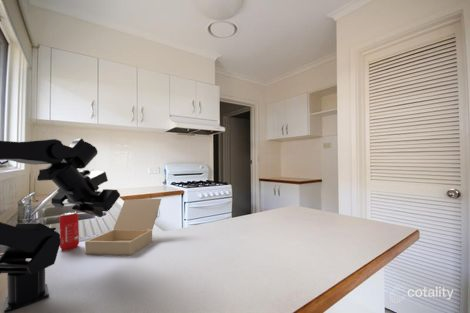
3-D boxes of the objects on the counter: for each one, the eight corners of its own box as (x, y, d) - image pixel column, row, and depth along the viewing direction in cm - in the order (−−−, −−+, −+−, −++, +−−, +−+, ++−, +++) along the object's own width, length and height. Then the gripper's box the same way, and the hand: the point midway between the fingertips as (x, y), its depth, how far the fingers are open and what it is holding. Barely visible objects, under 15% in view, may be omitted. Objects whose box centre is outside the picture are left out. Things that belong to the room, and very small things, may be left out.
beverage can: (68, 251, 71) (67, 215, 71) (56, 251, 72) (55, 215, 72) (82, 245, 76) (81, 211, 76) (70, 245, 77) (70, 211, 77)
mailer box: (130, 255, 65) (129, 242, 65) (85, 254, 68) (85, 241, 68) (152, 241, 76) (152, 229, 77) (113, 240, 79) (113, 229, 80)
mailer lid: (160, 198, 84) (161, 199, 84) (124, 199, 87) (125, 200, 87) (151, 229, 77) (152, 229, 77) (113, 229, 80) (113, 229, 80)
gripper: (118, 161, 60) (140, 197, 70) (66, 160, 64) (94, 194, 74) (91, 191, 52) (120, 227, 61) (33, 187, 56) (69, 221, 66)
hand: (101, 215), depth 66 cm, fingers closed
